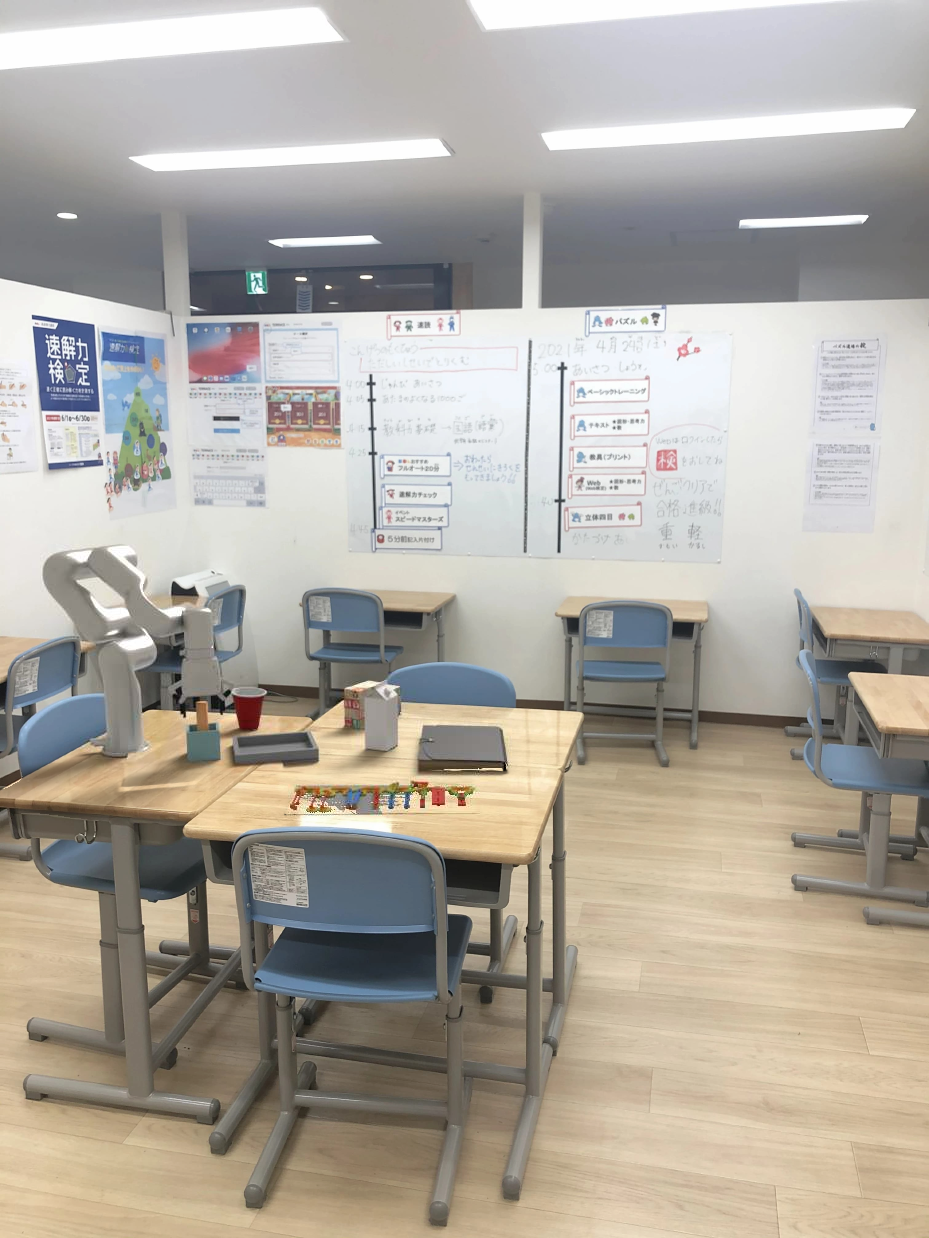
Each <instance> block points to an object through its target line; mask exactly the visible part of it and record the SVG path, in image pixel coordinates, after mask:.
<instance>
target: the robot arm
mask: <svg viewBox="0 0 929 1238" xmlns="http://www.w3.org/2000/svg"><path fill="white" fill-rule="evenodd" d="M137 566H138V556H137V554H136V552H135V551H134V550H133V548H131V547H130V546H128V545H126V544H122V543H121V544H120V543H119V544H110V545H104V546H103V545H102V546H99V547H88V548H80V549H69V550H63V551H59V552H56V553H53V554H52V555H50V556H49V557H48V558H46V560H45V561H44V563H43V566H42V580H43V584H44V587H45V588H46V590H47V592H48V593H49V595H50V596H51V597H52V599H54V601H55V602H56V603H58V605H59V606H61V608H62V610H64V611H65V613H66V614H67V616H68V617H69V618H70V620H71V621H72V622H73V624H74V625H75V627H76V628H77V629H78V630H79V632H80V633H81V635H83V637H84V638H85V639H86V640H87V642H89V643H92V644H95V645H96V644H103V643H107V642H108V643H107V644H104V646H103V647H102V648H101V649H100V650H99V654H98V659H97V660H98V661H97V662H98V665H99V669H100V673H101V677H102V682H103V683H102V685H103V695H104V696H103V697H104V709H105V710H104V711H105V723H106V724H105V725H106V726H105V727H106V734H105V736H102V737H99V738H98V737H96V738H95V737H93V738H89V739H90V740H89V741H90V742H89V743H90V746H94V747H95V748H97V747H102V748H101V754H103V755H104V756H107V757H116V758H119V757H120V758H122V757H123V758H124V757H128V755H130V754H134V753H135V754H136V753H139V752H142V751H144V750H146V749H148V748H149V747H150V743H149V742H147V741H144V730H143V714H142V713H143V710H142V707H143V706H142V695H141V693H142V692H141V691H142V690H141V686H140V682H139V680H138V677H137V676H136V673H135V672H136V671H138V670H141V669H144V668H147V667H149V666H151V665H152V664H153V663H154V662H155V661H156V659H157V655H158V650H157V646H156V644H155V642H154V640H153V639H152V637H151V636H150V635H152V636H153V637H156V638H165V637H169V636H172V635H177V634H181V633H183V634H184V636H183V637H184V639H183V640H184V648H183V649H182V650H181V649H180V650H179V656H182V657H183V656H184V658H183V659H182V662H181V679H180V680H178V681H177V682H175V683H173V684H172V685H170V686H168V688H167V690H168V693H169V694H170V696H171V697H172V699H174V700H175V701H177V703H179V711H180V713H179V714H180V715H182V718H183V719H186V718H187V708H186V707H187V706H186V700H187V698H196V697H209V696H210V697H211V696H217V697H218V698H219V699H218V701H219V703H218V704H219V715H221V716H223V715H224V712H226V700H227V698H228V697H229V696H230V695H232V694H231V692H232V690H233V689H234V688H235V684H236V683H235V682H234V681H231V680H228V679H226V678H224V677H222V676H221V670H220V663H219V659H218V657H217V656H216V655H215V641H214V640H215V639H214V623H213V622H214V621H213V618H214V617H213V612H212V610H211V608H209V607H205V606H197V607H196V606H195V607H193V606H192V607H191V606H189V605H183V604H177V605H171V606H170V605H169V606H167V607H161V608H160V607H158V606H156V605H155V604H154V603H152V602H151V601H150V600H149V599H148V598H147V597H146V595H145V594H144V592H145V590H146V589H147V586H148V582H149V581H148V580H149V579H148V577H147V576H146V575H145V574H144V573H143V572H142V571H141V570H139V569H138V568H137ZM94 578H99V579H100V580H101V581H102V582H103V583H104V584H106V585H107V586H108V587H109V588H110V589H112V590H113V591H114V592H115V593H116V594H118V596H120V597H121V598H122V599H123V601H124V605H125V607H123V606H120V605H112V606H106V607H105V606H103V605H101V603H100V602H99V601H98V600H97V599H96V597H95V596H94V594H93V593H92V592H91V591H90V590H89V589H87V588H86V587H84V586H82V585H81V584H80V583H79V582H77V581H81V580H86V579H87V580H89V579H94ZM222 684H223V685H226V686H227V688H226V690H225V691H224V692H223V691H222ZM180 687H181V692H182V694H181V695H179V694H178V693H177V692H176V690H177V689H179V688H180Z"/></svg>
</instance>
